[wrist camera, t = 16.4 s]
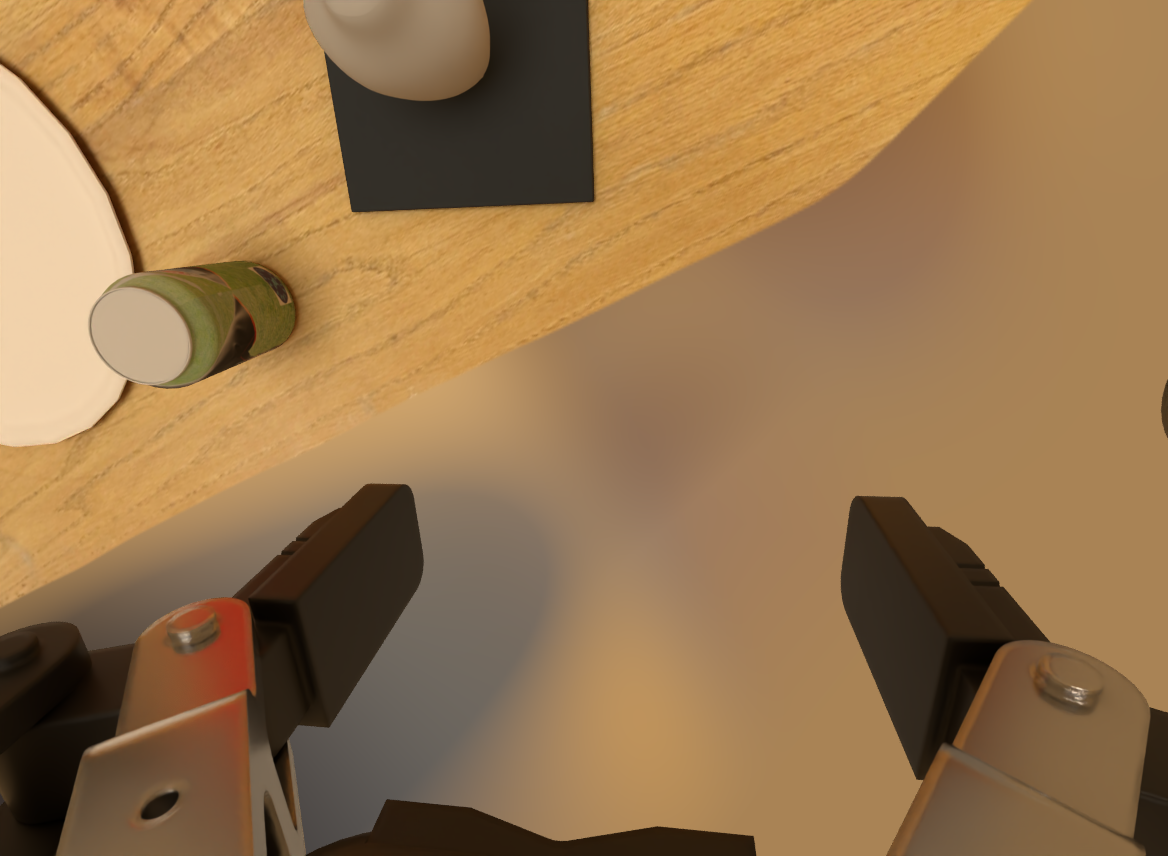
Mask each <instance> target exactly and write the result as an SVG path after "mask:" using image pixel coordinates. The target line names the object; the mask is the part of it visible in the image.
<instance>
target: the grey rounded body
mask: <svg viewBox="0 0 1168 856" xmlns="http://www.w3.org/2000/svg"><path fill="white" fill-rule="evenodd" d="M304 11H305V15H306V19H307V22H308V24H309V27H310V29H311V31H312V33H313V35H314V37H315V38H316V40H317V41H318V43H319V44H320V46H321V47H322V49H323V50H324V51H325V53H326V54H327V55H328V56H329V57H330V59H331V60H332V61H333V62H334V63H335V64H336V65H337V66H338V67H339V68H340V69H341V70H342V71H343V72H345V73H346V74H347V75H348V76H349V77H351V78H352V79H354V80H355V81H356V82H358V83H359V84H361V85H363V86H364V87H366V88H368V89H370V90H372V91H375V92H377V93H380V94H383V95H387V96H391V97H396V98H401V99H408V100H416V101H434V100H442V99H447V98H451V97H454V96H457V95H459V94H461V93H463V92H465V91H467V90H468V89H470V88H471V87H473V86H474V85H475V84H476V83H477V82H479V80H480V79H481V78H483V76H484V73H485V72H486V69H487V67H488V63H489V58H490V31H489V24H488V19H487V14H486V10H485V6H484V3H483V0H304Z"/></svg>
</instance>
